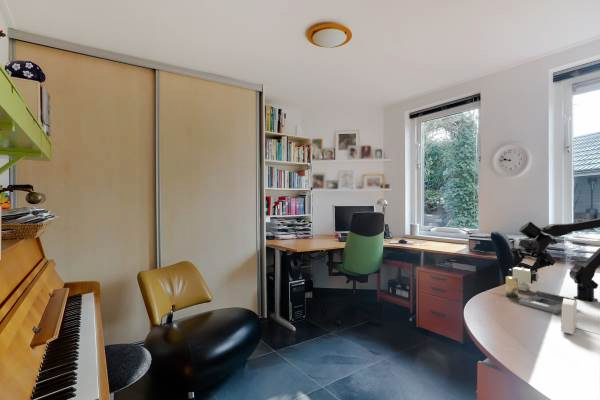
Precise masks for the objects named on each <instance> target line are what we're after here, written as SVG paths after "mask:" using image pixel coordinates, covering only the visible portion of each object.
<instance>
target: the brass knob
mask: <svg viewBox="0 0 600 400" xmlns="http://www.w3.org/2000/svg"><path fill="white" fill-rule="evenodd" d="M518 283H519V281H518V278H517V277H511V276H505V294H506V296H507V297H510V298H509V299H511V298H518V296H519V289H518ZM507 297H506V298H507Z"/></svg>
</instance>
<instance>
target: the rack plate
mask: <svg viewBox="0 0 600 400" xmlns="http://www.w3.org/2000/svg"><path fill="white" fill-rule="evenodd" d="M563 298H565V299H571V300H575V301H577V298H572V297H568V296H562V295H558V294H554V293H549V292H545V291H541V290H536V295H533V296H529V297H528V296H527V297H526V298H525V297H524V298H521V299H518V304H519V305H523V306H526V307H529V308H532V309H536V310H540V311H544V312H548V313H551V314H553V315H556V316H560V315H562V303H563Z"/></svg>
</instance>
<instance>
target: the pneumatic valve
mask: <svg viewBox="0 0 600 400" xmlns="http://www.w3.org/2000/svg"><path fill="white" fill-rule="evenodd" d="M530 269H531V268H525V267H524V266H521V267H517V266H515V267H511V268H509V269H508V272H507V273H508V276H511V277H517V278H518V291H526V292H527V291H530V289H531V286H530V285H529V284H534V283H536V282H537V283H538V281H539V273H538V272H536V270H535V271H533V272H531V271H530Z"/></svg>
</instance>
